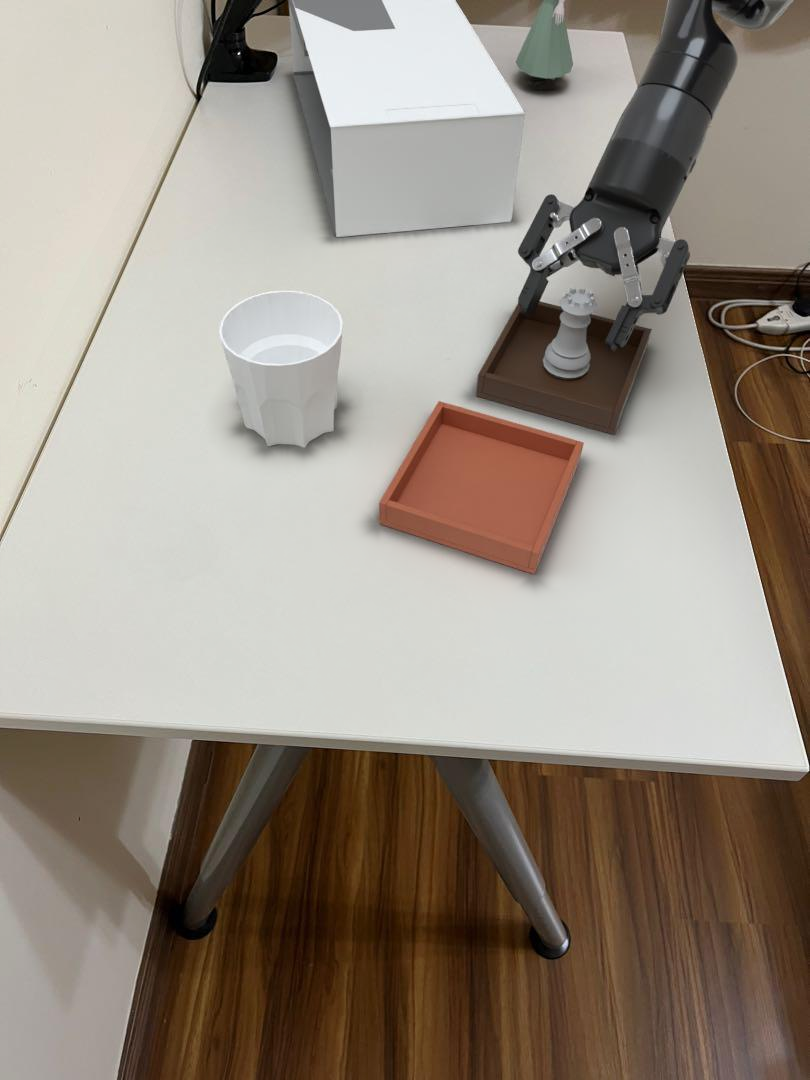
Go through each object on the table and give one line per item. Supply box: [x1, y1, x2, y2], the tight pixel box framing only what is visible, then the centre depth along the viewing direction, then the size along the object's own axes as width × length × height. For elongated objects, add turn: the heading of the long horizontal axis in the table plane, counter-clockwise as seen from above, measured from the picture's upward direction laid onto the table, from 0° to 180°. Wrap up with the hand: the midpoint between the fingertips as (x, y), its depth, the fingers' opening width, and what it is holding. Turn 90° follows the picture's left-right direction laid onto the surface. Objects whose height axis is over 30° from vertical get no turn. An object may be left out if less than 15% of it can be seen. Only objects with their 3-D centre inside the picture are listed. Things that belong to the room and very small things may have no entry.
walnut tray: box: [475, 300, 652, 436], centre depth 80 cm, size 13×13×3 cm
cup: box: [218, 290, 344, 449], centre depth 73 cm, size 10×10×10 cm
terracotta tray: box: [378, 400, 585, 575], centre depth 70 cm, size 13×13×3 cm
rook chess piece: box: [543, 286, 598, 380], centre depth 78 cm, size 4×4×8 cm
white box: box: [287, 0, 526, 238], centre depth 106 cm, size 45×21×12 cm, turn 11°
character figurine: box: [515, 0, 574, 91], centre depth 117 cm, size 16×8×18 cm, turn 178°
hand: (566, 331), depth 76 cm, fingers open, 8 cm apart
